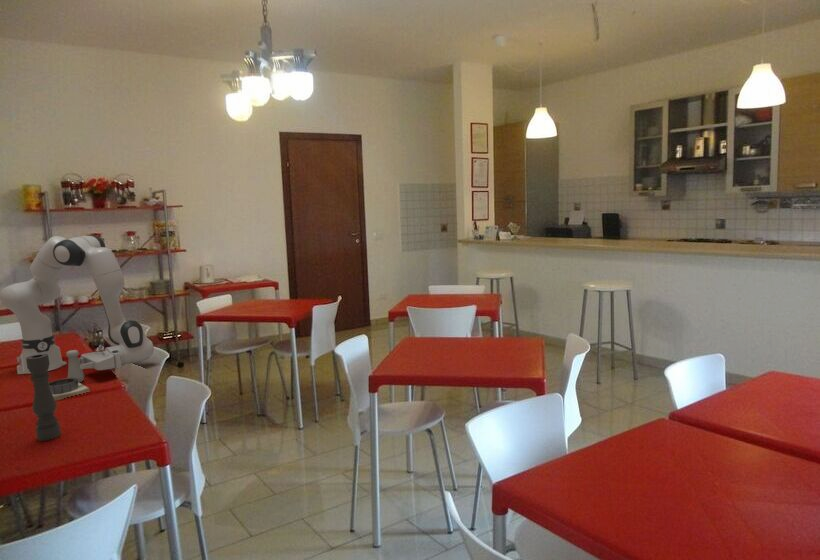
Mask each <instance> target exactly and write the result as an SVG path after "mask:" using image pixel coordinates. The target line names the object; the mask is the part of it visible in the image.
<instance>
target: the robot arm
mask: <svg viewBox="0 0 820 560" xmlns="http://www.w3.org/2000/svg"><path fill="white" fill-rule="evenodd" d="M82 265H85V266H87V267H88V269H89V271H90V273H91V277H92V280H93V282H94V285H95V287H96V290H97V292H98V294H99V297H100V299H101V303H102V306H103V310H104V312H105V316H106V319H107V322H108V323H107V324H108V330H107V334H108V339H109V340H110V342H112V343H113V344H114V345H111V346H109V347H108V346H107V347H105V348H104V350H103V351H92V352H87V353H82V354H80V357H78V359H79V362H80V365H79V368H80V369H82V370H85V369H86V370H87V369H94V370H96V371H104V370H111V369H121V368H122V367H123V366H125V365H127V364H136V363H140V362H143V361H146V360H149V359H150V358H151V357H152V356H153V353H154V350H155V349H154V344H153V341H152V340H151V339H150V338H149V337H147V335H146V334H145V331H144V330H143V326H142V325H141V324H140V323H139V322H137V321H136V320H126V318H125V317H124V313H123V310H122V307H121V306H122V305H121V302H120V295H121V293H122V291H123V290H124V287H125V278H124V274H123V272H122V268H121V266H120V264H119V262H118V259H117V258H116V255H115V254H114V253H113V251H112V250H111V248H108V247H106V244H105V241H104V240H103V238H102V237H100V236H98V235H95V234H87V235H78V236H74V237H70V238H66V237H63V236H60V235H55V236H51V237H50V238H49V239H47V241H45V243H44V244H43V245H42V246H41V247H40V249H39V251H38V252H37V254H36V256H35V258H34V259H33V261H32V262H31V264H30V266H29V271H30V274H31V275H32V278H31V279H29V280H26V281H23V282H22V281H21V282H16V283H12V284H10V285H8V286H5V287H3V288H2V289H1V291H0V303H1V304H2V306H3V307H4V308H6V309H8V310H10V311H11V312H12V313H13V314H14V316H15V317H16V318H17V320H18V322H19V325H20V331H21V336H22V340H21V348H22V351H21V353H20V355H19V356H17V357H16V360H17V363H19V364H18V365H17V366H16V372H17V375H24V374H25V375H26V374H27V375H28V374H30V375H32V374H31V372H29V369H27V363H26V358H27V357H29V356H32V355H37V354H48V357H49V363H50V365H49V369H48V371H47V372H49V371H53V370H57V369H59V368H61V367H63V366H65V365H68V364H67V361H64V360H63V358H62V354H61V349H60V346H58V345H56V344H55V343H56V341H55V340H56V339H55V336H54V334H53V330H52V322H51V318H50V317H49V316H48V315H46V314H44V313H42V312H41V311H40V308H39V306H40V305H41V306H42V305H44V304H46V305H47V304H49V303H50V302H53V301H55V300H57V299H58V298H59V297H60V295H61V286H60V284H59V282H58V279H59V277H60V275H61V273H62V272H63V271H64V268H65V266H67V267H68V266H70V267H71V266H72V267H80V266H81V267H82Z"/></svg>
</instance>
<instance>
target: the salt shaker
mask: <svg viewBox="0 0 820 560" xmlns="http://www.w3.org/2000/svg"><path fill="white" fill-rule="evenodd" d="M65 354H66V357H67V358H68V364H67V365H68V369H67V378H76V379H78V382H79V383H80V382H81V383H83V382H84V378H85V374H84V371H83V370H84V369H80V368H79V365H80V362H79V357H78V356H79V355H80V352H79V350H77V349H73V350H67V352H66V353H65ZM82 381H83V382H82Z"/></svg>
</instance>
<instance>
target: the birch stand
mask: <svg viewBox="0 0 820 560" xmlns="http://www.w3.org/2000/svg"><path fill="white" fill-rule="evenodd" d="M78 386H79V387H78V388H77V389H76V390H73V391H71V392H67V393H62V394H52V395H53V397H54V400H55V402H57V401H61V400H64V398H65V399H68V398H67V397H69V398H72V397H71V396H73V397H76V396H75V395H77V396H80V395H79V394H81V395H84V394H83V393H85V394H87V393H86V392H89V393H90V391H91V390H90V387H88V386H86V385H84V384H82V382H81V383H79V382H78Z"/></svg>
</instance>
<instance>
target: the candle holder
mask: <svg viewBox="0 0 820 560" xmlns="http://www.w3.org/2000/svg"><path fill="white" fill-rule="evenodd" d="M26 363H27V369H29V372H31V374H30V375H31V376H30V377H29V380H30V381H32V384H33V388H34V389H33V390H34V394H33V403H32V411H33V413H34V414H35V415H36V417H37V421H36V422H35V425H36V427H35V433H36V440H37V441H40V442H44V441H45V442H46V440H47V441H51V440H53V439H54V438H55V439H57V438H59V437H60V436H61V435H62V432H61V425H60V422H58V421H59V419H58V417H56V416H55V412H56V410H57V408H58V407H57V406H58V405H57V401H55V400H54V397H53V395H52V393H51V391H50V388H49V382H50V381H49V379H50V377H51V374H50V373H49V371H48V369H49V365H50V363H49V357H48V354H37V355H32V356H29V357H27V358H26ZM58 436H59V437H58ZM56 437H57V438H56ZM50 439H51V440H50Z"/></svg>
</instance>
